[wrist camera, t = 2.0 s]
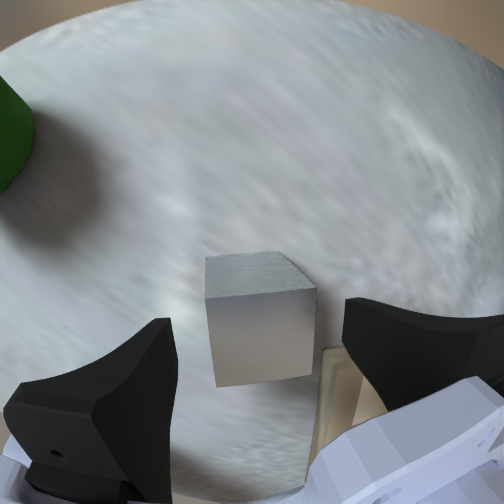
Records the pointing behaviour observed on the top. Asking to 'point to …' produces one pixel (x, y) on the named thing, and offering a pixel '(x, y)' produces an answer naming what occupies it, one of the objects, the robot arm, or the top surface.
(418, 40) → the top surface
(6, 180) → the bell pepper
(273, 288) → the pale grey block
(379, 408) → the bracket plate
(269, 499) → the robot arm
